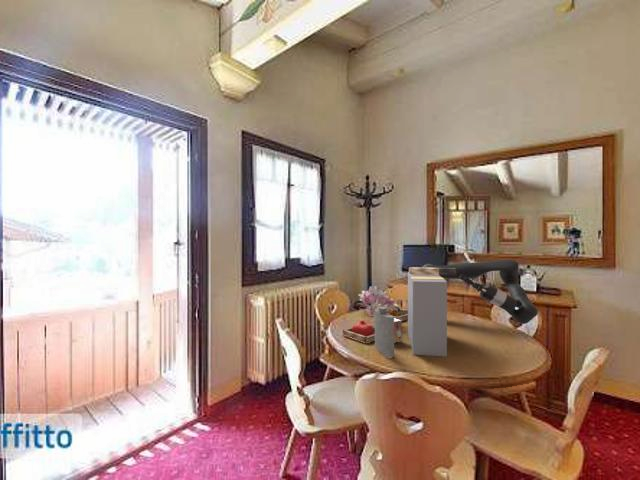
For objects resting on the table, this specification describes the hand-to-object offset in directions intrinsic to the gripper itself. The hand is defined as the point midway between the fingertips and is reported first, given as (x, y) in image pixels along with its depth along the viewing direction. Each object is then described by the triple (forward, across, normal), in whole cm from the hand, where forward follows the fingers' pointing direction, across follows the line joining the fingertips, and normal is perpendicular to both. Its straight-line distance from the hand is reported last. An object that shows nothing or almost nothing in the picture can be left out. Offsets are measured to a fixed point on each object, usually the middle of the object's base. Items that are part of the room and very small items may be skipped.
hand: (462, 277), depth 164 cm
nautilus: (+14, -40, +44) cm, 61 cm away
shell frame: (+14, -42, +44) cm, 62 cm away
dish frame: (+25, +2, +50) cm, 56 cm away
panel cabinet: (0, +7, +36) cm, 36 cm away
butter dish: (+26, +1, +51) cm, 57 cm away
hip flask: (+17, +22, +46) cm, 54 cm away
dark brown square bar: (+13, 0, +6) cm, 14 cm away
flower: (+20, -19, +47) cm, 54 cm away
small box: (+13, +7, +44) cm, 46 cm away
